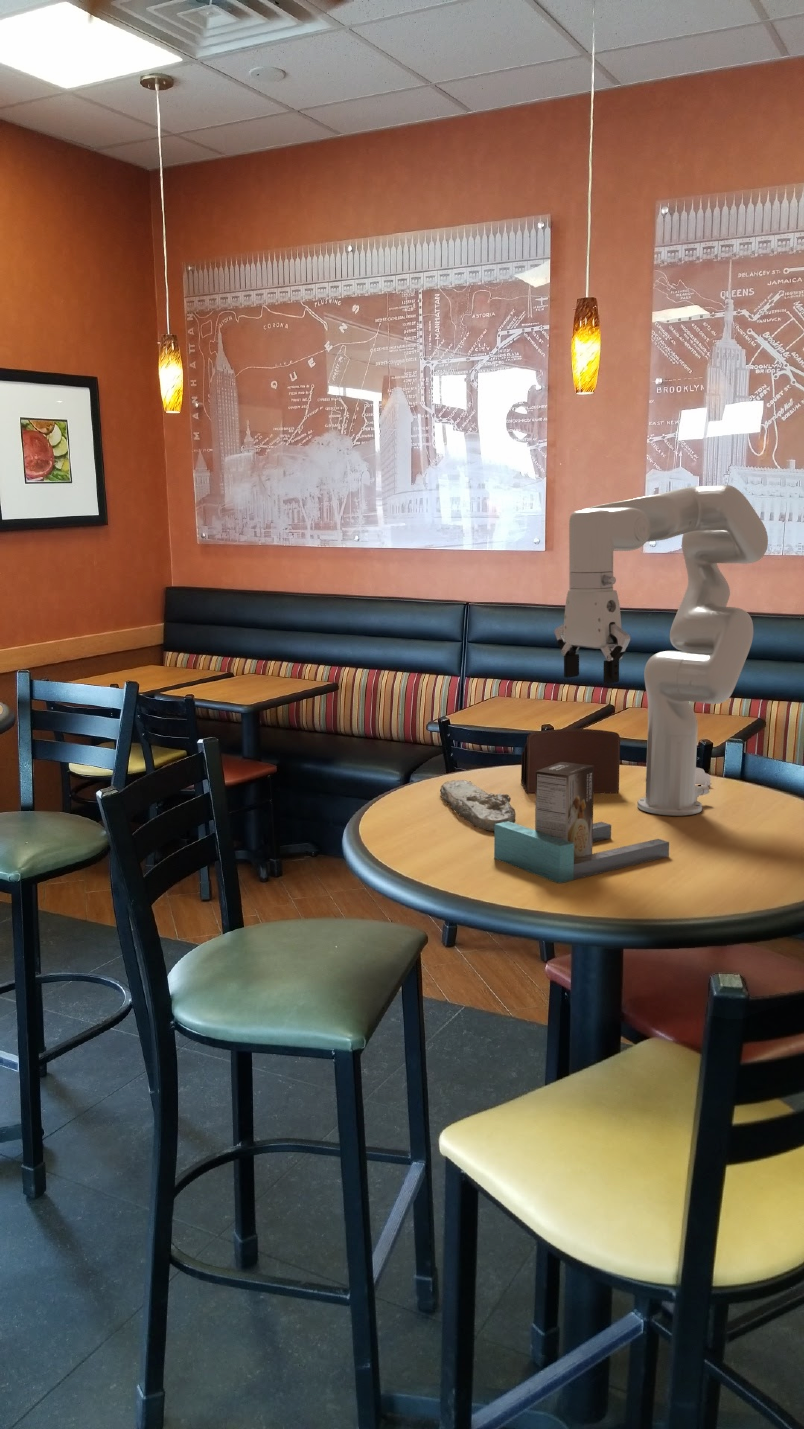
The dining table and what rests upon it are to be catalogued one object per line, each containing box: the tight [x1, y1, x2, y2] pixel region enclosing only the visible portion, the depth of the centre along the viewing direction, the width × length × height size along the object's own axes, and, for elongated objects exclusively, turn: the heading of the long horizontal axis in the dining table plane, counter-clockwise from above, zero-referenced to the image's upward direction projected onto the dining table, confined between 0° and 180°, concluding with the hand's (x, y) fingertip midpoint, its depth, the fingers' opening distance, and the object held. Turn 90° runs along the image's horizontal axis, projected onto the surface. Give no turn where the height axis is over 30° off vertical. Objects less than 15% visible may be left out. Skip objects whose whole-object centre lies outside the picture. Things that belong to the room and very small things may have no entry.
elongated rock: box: [439, 779, 517, 832], centre depth 207 cm, size 35×5×10 cm
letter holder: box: [520, 728, 621, 795], centre depth 224 cm, size 10×20×14 cm, turn 90°
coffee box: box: [534, 762, 594, 858], centre depth 172 cm, size 9×6×16 cm
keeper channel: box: [493, 821, 670, 884], centre depth 175 cm, size 25×16×6 cm, turn 124°
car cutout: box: [695, 767, 712, 787], centre depth 230 cm, size 15×7×4 cm, turn 54°
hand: (591, 679), depth 183 cm, fingers open, 9 cm apart
